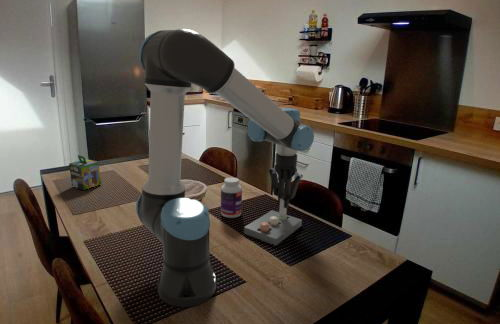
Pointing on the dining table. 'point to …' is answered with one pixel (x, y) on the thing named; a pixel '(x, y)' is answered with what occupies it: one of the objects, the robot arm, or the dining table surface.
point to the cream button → (274, 221)
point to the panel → (273, 228)
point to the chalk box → (85, 173)
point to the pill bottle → (231, 198)
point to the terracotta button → (264, 227)
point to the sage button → (282, 217)
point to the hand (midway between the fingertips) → (282, 214)
